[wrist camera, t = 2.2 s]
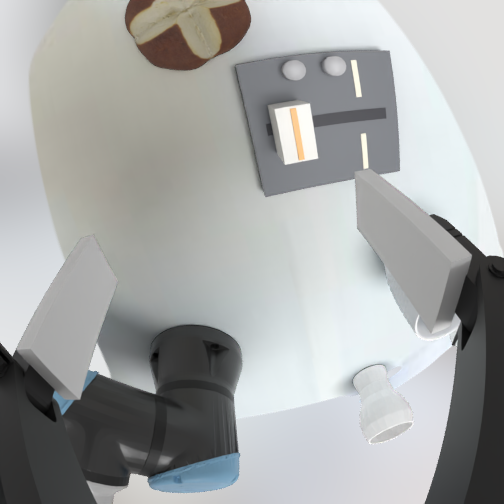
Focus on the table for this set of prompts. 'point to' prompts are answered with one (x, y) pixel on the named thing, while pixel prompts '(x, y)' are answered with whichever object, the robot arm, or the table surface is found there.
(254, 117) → the console
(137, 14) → the bread
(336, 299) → the table surface
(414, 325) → the mug
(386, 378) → the cup
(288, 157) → the fader cap
